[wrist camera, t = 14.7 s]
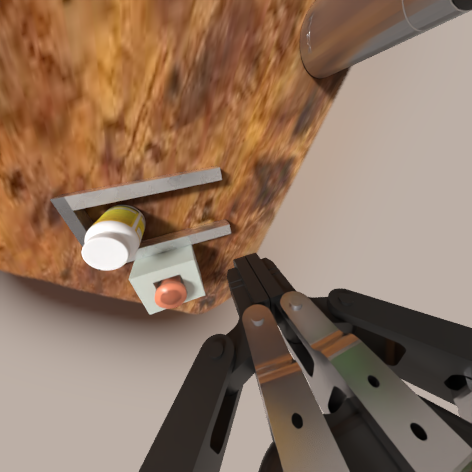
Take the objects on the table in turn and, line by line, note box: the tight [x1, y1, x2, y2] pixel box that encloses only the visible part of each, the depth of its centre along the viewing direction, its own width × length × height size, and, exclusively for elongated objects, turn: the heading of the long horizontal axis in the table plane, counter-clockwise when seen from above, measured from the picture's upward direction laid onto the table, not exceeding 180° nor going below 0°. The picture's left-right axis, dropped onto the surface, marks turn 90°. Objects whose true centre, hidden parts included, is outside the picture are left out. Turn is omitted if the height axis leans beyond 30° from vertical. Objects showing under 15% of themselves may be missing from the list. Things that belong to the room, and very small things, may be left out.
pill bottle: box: [82, 205, 146, 270], centre depth 25 cm, size 6×6×11 cm
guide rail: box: [50, 166, 231, 270], centre depth 30 cm, size 24×12×3 cm, turn 98°
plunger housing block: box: [129, 245, 205, 314], centre depth 33 cm, size 10×9×8 cm
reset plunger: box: [155, 275, 187, 309], centre depth 29 cm, size 5×5×4 cm
